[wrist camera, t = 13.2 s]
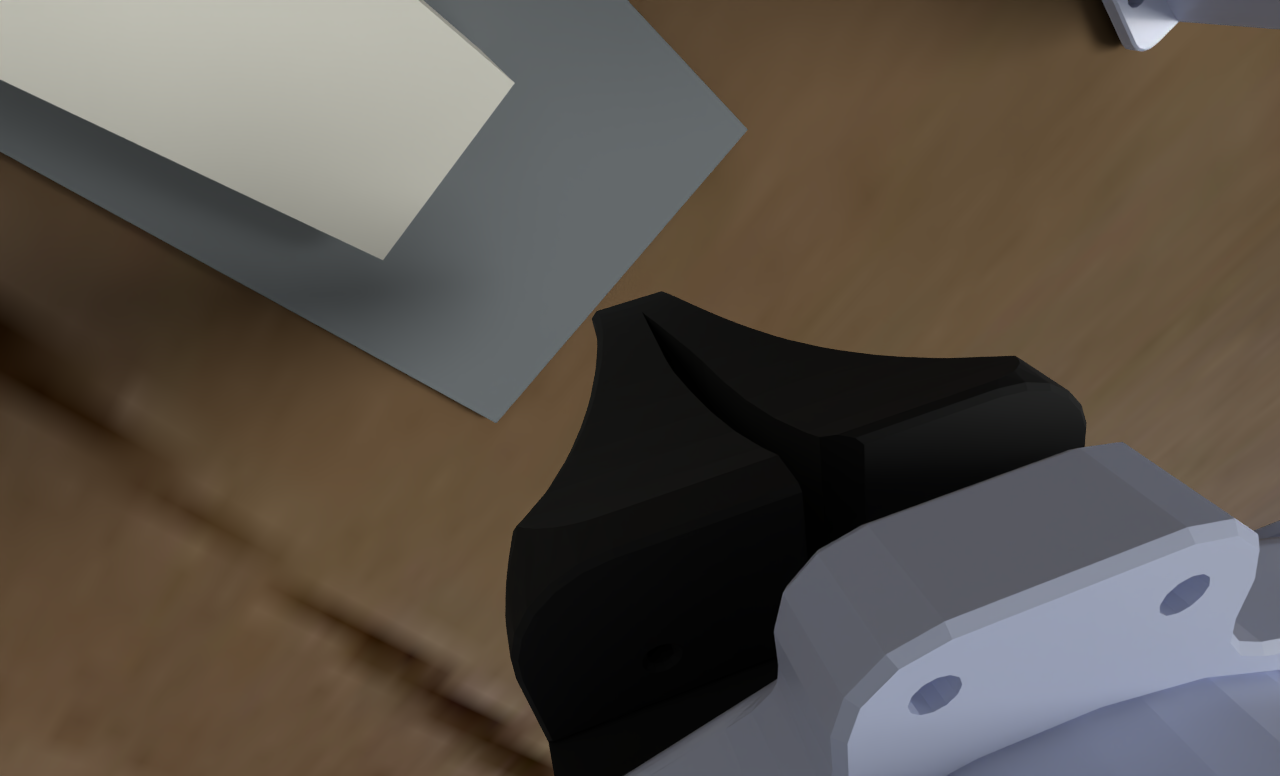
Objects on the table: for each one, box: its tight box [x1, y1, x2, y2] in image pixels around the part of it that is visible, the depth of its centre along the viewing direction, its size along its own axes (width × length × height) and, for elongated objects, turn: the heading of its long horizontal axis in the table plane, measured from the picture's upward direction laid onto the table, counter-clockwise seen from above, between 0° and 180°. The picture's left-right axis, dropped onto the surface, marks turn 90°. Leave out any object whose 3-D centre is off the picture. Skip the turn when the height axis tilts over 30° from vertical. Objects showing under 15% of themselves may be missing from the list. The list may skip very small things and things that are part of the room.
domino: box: [0, 0, 514, 260], centre depth 10 cm, size 2×4×6 cm
